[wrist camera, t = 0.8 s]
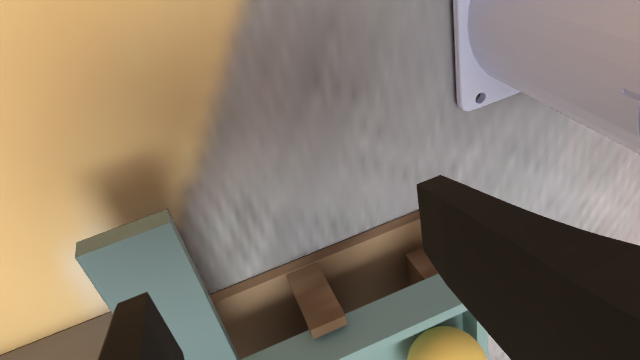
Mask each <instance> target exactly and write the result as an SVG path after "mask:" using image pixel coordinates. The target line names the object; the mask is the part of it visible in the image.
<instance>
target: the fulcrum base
mask: <svg viewBox="0 0 640 360" xmlns="http://www.w3.org/2000/svg"><path fill="white" fill-rule="evenodd" d="M436 274H439V273H438V272H437V270H436V269H435V267H434V266H433V264H432V263H431V261H430V260H429V258H428V257H427V255H426V253H425V252H424V250H423V242H422V233H421V223H420V213H419V210H418V211H416V212H413V213H411V214H408V215H406V216H403V217H401V218H398V219H396V220H393V221H391V222H389V223H386V224H384V225H381V226H379V227H376V228H374V229H371V230H369V231H366V232H364V233H361V234H359V235H356V236H354V237H352V238H349V239H347V240H344V241H342V242H339V243H337V244H334V245H332V246H329V247H327V248H324V249H322V250H320V251H317V252H315V253H312V254H310V255H307V256H305V257H302V258H300V259H297V260H295V261H292V262H290V263H287V264H285V265H283V266H280V267H278V268H275V269H273V270H270V271H268V272H265V273H263V274H260V275H258V276H255V277H253V278H251V279H248V280H246V281H243V282H241V283H238V284H236V285H233V286H231V287H228V288H226V289H223V290H221V291H218V292H216V293H214V294H211V295H209V296H210V298H211V300H212V302H213V304H214V306H215V309H216V311H217V313H218V315H219V317H220V319H221V321H222V323H223V325H224V327H225V329H226V331H227V333H228V336H229V338H230V340H231V342H232V344H233V346H234V348H235V350H236V352H237V354H238V356H239V358H240V360H241V359H243V358H246V357H248V356H250V355H252V354H255V353H257V352H259V351H262V350H264V349H266V348H269V347H271V346H273V345H275V344H278V343H280V342H282V341H285V340H287V339H289V338H292V337H294V336H296V335H298V334H301V333H303V332H305V331H308V330H310V333H311V335H312V337H313V339H316V338H318V337H320V336H322V335H325V334H327V333H329V332H331V331H334V330H336V329H338V328H341V327H343V326H345V325H347V324H348V323H347V320H346V316H345V314H347V313H349V312H351V311H354V310H356V309H358V308H361V307H363V306H365V305H367V304H370V303H372V302H374V301H377V300H379V299H381V298H384V297H386V296H388V295H390V294H393V293H395V292H397V291H400V290H402V289H404V288H407V287H409V286H411V285H413V284H416V283H418V282H420V281H423V280H425V279H427V278H430V277H432V276H434V275H436Z"/></svg>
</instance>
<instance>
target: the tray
mask: <svg viewBox="0 0 640 360" xmlns="http://www.w3.org/2000/svg"><path fill="white" fill-rule="evenodd" d="M112 316H113V313H112V312H109V313H107V314H104V315H102V316H99V317H97V318H94V319H92V320H89V321H87V322H84V323H82V324H79V325H76V326H74V327H71V328H69V329H66V330H64V331H61V332H59V333H56V334H54V335H51V336H49V337H46V338H44V339H41V340H39V341H36V342H34V343H31V344H29V345H26V346H24V347H21V348H19V349H16V350H14V351H11V352H9V353H6V354H4V355H1V356H0V360H97V359H98V357H99V354H100V351H101V348H102V345H103V342H104V339H105V337H106V334H107V331H108V328H109V325H110V322H111V319H112Z"/></svg>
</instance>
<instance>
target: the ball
mask: <svg viewBox="0 0 640 360" xmlns="http://www.w3.org/2000/svg"><path fill="white" fill-rule="evenodd" d="M407 360H487V358H486V355H485V353H484V351H483V349H482V347H481V346H480V345H479V343H478V342H477V341H476V340H475V339H474V338H473V337H472V336H471V335H470V334H468V333H466V332H465V331H463V330H461V329H458V328H455V327H451V326H438V327H433V328H431V329H428V330H426V331H425V332H423V333H422V334H420V335H419V336H418V337H417V338H416V339H415V341H414V342H413V344H412V345H411V347H410V350H409V353H408V357H407Z"/></svg>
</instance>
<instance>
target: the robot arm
mask: <svg viewBox="0 0 640 360" xmlns="http://www.w3.org/2000/svg"><path fill="white" fill-rule="evenodd" d="M453 11H454V38H455V64H456V90H457V104H458V107H459V108H460V109H462V110H464V111H467V112H468V111H472V110H475V109H477V108H480V107H483V106H485V105H488V104H491V103H493V102H496V101H499V100H501V99H504V98H507V97H509V96H512V95H515V94H517V93H520V92H522V93H524V94H525V95H527V96H529V97H531V98H533V99H535V100H537V101H539V102H541V103H543V104H545V105H546V106H548V107H550V108H552V109H554V110H556V111H558V112H560V113H562V114H564V115H566V116H567V117H569V118H571V119H573V120H575V121H577V122H579V123H581V124H583V125H585V126H587V127H588V128H590V129H592V130H594V131H596V132H598V133H600V134H602V135H604V136H606V137H608V138H609V139H611V140H613V141H615V142H617V143H619V144H621V145H623V146H625V147H627V148H629V149H630V150H632V151H634V152H636V153H638V154H640V0H453ZM479 93H480V96H479V98H478V99H477V100H476V97H477V95H478V94H479ZM417 193H418V203H419V213H420V223H421V233H422V242H423V250H424V252H425V253H426V255H427V257H428V258H429V260H430V261H431V263H432V264H433V266H434V267H435V269H436V270H437V272H438V273H439V275H440V276H441V278H442V279H443V281H444V282H445V283H446V285H447V286H448V287H449V288H450V290H451V291H452V292H453V293H454V294H455V296H456V297H457V298H458V299H459V300H460V301H461V303H462V304H463V305H464V306H465V307H466V308H467V310H468V311H469V312H470V313H471V314H472V315H473V316H474V318H475V319H476V320H477V321H478V322H479V323H480V324H481V326H482V327H483V328H484V329H485V330H486V331H487V332H488V334H489V335H490V336H491V337H492V338H493V339H494V340H495V342H496V343H497V344H498V345H499V346H500V347H501V348H502V350H503V351H504V352H505V353H506V354H507V355H508V356H509V358H510V359H511V360H640V246H639V245H635V244H631V243H627V242H624V241H620V240H616V239H612V238H609V237H605V236H601V235H598V234H595V233H591V232H588V231H585V230H581V229H578V228H576V227H573V226H570V225H567V224H564V223H561V222H558V221H555V220H552V219H549V218H546V217H543V216H541V215H538V214H535V213H533V212H530V211H527V210H525V209H522V208H520V207H517V206H515V205H512V204H510V203H507V202H505V201H502V200H500V199H497V198H495V197H492V196H490V195H488V194H485V193H483V192H480V191H478V190H476V189H473V188H471V187H469V186H466V185H464V184H461V183H459V182H457V181H454V180H452V179H449V178H447V177H444V176H441V175H439V176H437V177H434V178H432V179H429V180H427V181H424V182H422V183H419V184H417ZM97 360H185V359H184V355H183V352H182V350H181V348H180V346H179V345H178V343H177V341H176V340H175V338H174V336H173V335H172V333H171V331H170V329H169V328H168V326H167V324H166V323H165V321H164V319H163V317H162V316H161V314H160V312H159V311H158V309H157V307H156V306H155V304H154V302H153V300H152V299H151V297H150V295H149V294H148V292H145V293H143V294H140V295H137V296H135V297H132V298H130V299H127V300H125V301H122V302H120V303H118V304H117V306H116V308H115V309H114V312H113V316H112V319H111V322H110V325H109V328H108V331H107V334H106V337H105V339H104V342H103V345H102V348H101V351H100V354H99V357H98V359H97Z"/></svg>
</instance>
